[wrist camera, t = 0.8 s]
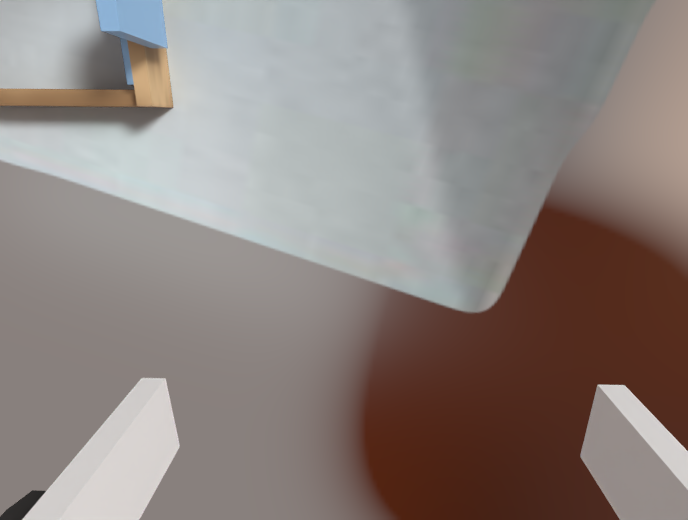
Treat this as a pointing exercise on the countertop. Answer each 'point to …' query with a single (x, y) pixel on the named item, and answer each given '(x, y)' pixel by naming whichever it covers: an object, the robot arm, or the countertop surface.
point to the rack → (141, 71)
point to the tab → (134, 21)
